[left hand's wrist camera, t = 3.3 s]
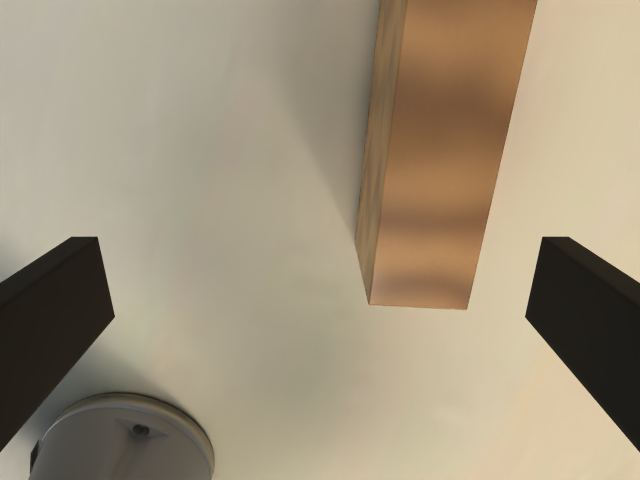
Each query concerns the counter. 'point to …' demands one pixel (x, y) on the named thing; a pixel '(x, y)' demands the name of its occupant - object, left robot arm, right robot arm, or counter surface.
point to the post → (435, 144)
